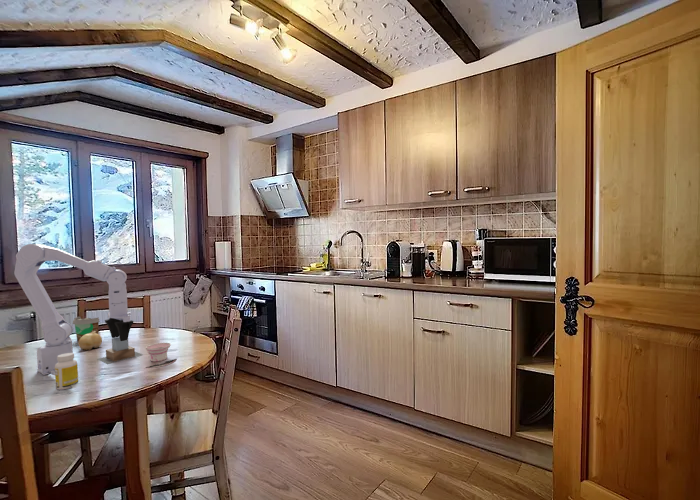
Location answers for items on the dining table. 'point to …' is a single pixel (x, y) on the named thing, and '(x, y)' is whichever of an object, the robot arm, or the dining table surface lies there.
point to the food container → (85, 326)
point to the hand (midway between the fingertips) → (119, 338)
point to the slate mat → (117, 360)
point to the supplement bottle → (66, 371)
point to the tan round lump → (90, 341)
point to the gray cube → (119, 344)
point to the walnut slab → (120, 354)
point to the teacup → (159, 354)
